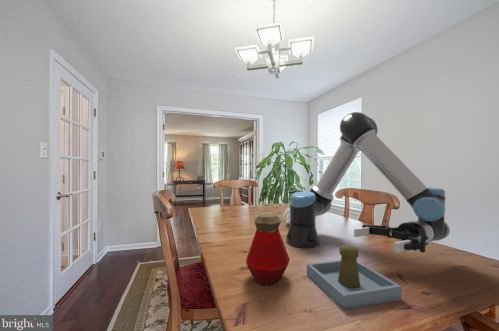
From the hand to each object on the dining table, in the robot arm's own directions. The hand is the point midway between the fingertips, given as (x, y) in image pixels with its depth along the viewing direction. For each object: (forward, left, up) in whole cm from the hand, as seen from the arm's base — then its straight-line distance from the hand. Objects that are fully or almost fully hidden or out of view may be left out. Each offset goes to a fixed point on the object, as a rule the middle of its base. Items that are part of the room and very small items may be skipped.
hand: (373, 239), depth 67 cm
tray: (-6, -7, -13) cm, 16 cm away
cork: (-6, -7, -12) cm, 16 cm away
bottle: (-29, -15, -13) cm, 36 cm away
